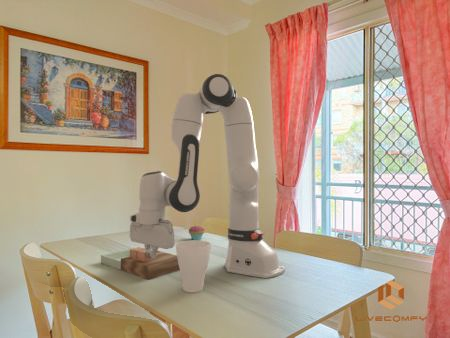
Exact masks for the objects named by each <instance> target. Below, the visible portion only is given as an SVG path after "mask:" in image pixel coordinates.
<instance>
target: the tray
mask: <svg viewBox="0 0 450 338" xmlns="http://www.w3.org/2000/svg"><path fill="white" fill-rule="evenodd" d="M130 249H131V248H128V249H125V250H120V251H115V252H110V253H107V254H106V253H105V254H101V255H100V264H102V265H106V266H108V267H111V268H113V269H118V270H120V271H122V270H121V258H126V257H130Z"/></svg>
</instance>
